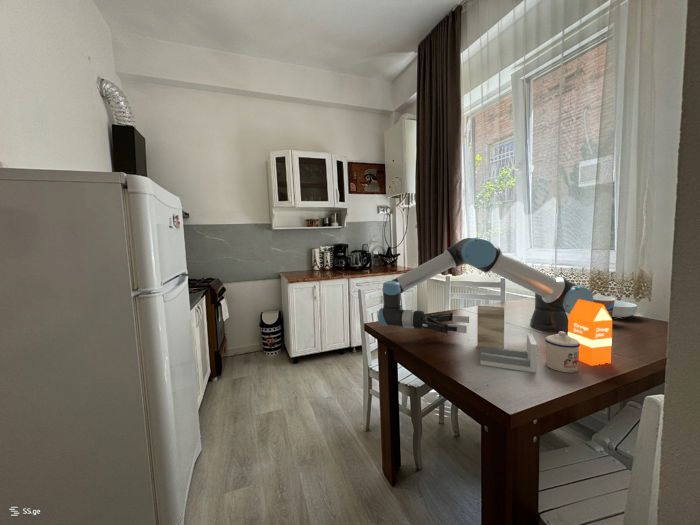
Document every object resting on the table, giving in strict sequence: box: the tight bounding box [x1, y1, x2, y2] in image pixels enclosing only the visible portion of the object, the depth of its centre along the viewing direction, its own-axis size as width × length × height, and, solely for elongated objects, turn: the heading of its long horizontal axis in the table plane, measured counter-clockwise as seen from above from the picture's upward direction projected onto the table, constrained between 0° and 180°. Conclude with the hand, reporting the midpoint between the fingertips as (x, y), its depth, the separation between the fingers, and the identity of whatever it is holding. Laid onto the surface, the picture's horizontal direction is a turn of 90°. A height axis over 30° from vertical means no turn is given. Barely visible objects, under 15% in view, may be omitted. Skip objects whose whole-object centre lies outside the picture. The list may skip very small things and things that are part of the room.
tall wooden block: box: [476, 305, 505, 350], centre depth 111 cm, size 4×9×16 cm, turn 64°
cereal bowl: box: [612, 300, 638, 318], centre depth 147 cm, size 17×17×7 cm
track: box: [479, 332, 538, 374], centre depth 99 cm, size 16×11×9 cm
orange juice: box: [567, 299, 613, 367], centre depth 99 cm, size 8×9×20 cm
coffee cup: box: [593, 295, 617, 319], centre depth 138 cm, size 10×10×12 cm
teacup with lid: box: [544, 331, 580, 374], centre depth 95 cm, size 12×9×12 cm
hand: (468, 324), depth 114 cm, fingers open, 13 cm apart
